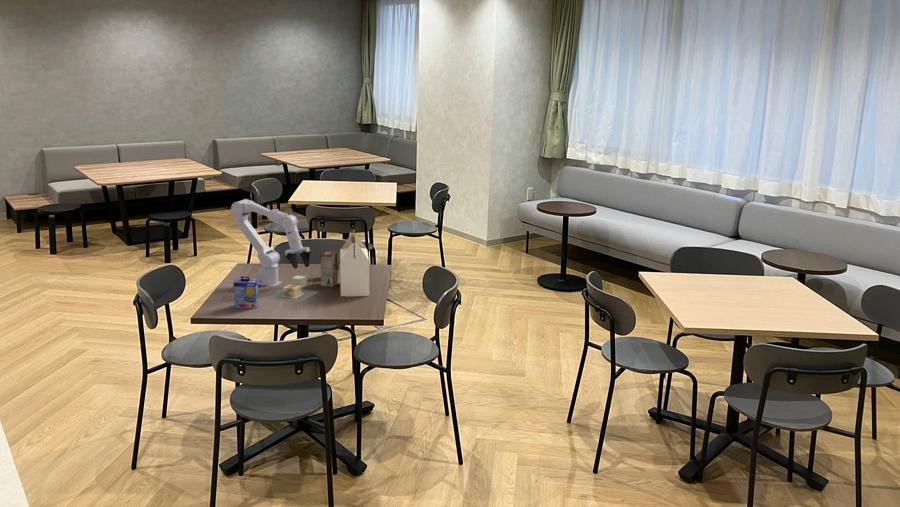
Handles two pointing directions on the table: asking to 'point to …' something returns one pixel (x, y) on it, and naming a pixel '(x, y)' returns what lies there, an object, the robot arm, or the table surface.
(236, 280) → the ink cartridge box
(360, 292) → the gable box
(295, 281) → the sage top block
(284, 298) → the board
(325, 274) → the coffee box
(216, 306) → the table surface
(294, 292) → the maple base block
